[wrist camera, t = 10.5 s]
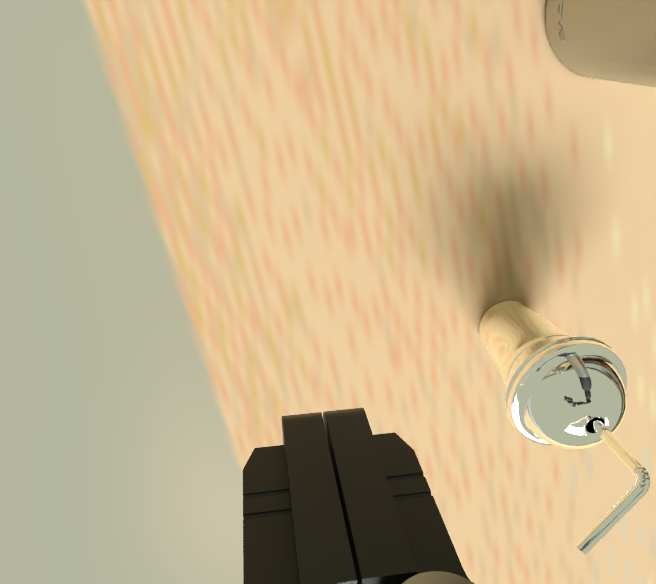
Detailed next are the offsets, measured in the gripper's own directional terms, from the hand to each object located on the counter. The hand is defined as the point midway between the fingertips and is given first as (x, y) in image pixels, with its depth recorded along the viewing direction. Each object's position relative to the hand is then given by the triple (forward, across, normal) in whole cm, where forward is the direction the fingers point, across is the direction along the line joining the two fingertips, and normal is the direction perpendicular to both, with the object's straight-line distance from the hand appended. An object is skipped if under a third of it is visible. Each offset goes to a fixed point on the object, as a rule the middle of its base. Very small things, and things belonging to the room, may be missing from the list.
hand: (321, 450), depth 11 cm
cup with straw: (+32, -19, +16) cm, 41 cm away
